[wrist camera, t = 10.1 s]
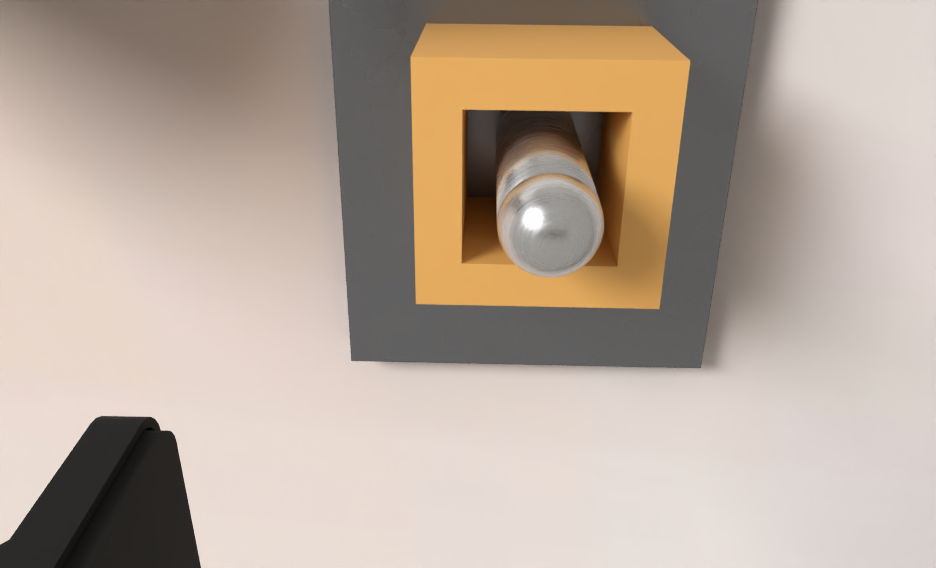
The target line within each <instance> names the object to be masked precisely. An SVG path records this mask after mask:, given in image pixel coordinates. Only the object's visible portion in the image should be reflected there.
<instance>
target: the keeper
mask: <svg viewBox="0 0 936 568" xmlns="http://www.w3.org/2000/svg"><path fill="white" fill-rule="evenodd" d="M757 3H758V0H329V14H330V30H331V45H332V61H333V77H334V93H335V109H336V124H337V140H338V156H339V172H340V187H341V203H342V219H343V235H344V251H345V266H346V282H347V298H348V314H349V330H350V345H351V361H385V362H432V363H479V364H526V365H573V366H620V367H668V368H701V363H702V356H703V350H704V343H705V337H706V331H707V324H708V318H709V311H710V305H711V298H712V292H713V286H714V279H715V273H716V266H717V260H718V253H719V247H720V241H721V234H722V228H723V221H724V215H725V208H726V202H727V196H728V189H729V183H730V176H731V170H732V163H733V157H734V151H735V144H736V138H737V131H738V125H739V118H740V112H741V106H742V99H743V93H744V86H745V80H746V73H747V67H748V61H749V54H750V48H751V41H752V35H753V28H754V22H755V16H756V9H757ZM426 23H431V24H507V25H584V26H652V27H653V28H655V29H656V30H657V31H658V32H659V33H660V34H661V35H662V36H663V37H665V38H666V39H667V40H668V41H669V42H670V43H671V44H672V45H673V46H674V47H676V48H677V49H678V50H679V51H680V52H681V53H682V54H683V55H684V56H686V57H687V58H688V59H689V60H690V68H689V76H688V84H687V92H686V100H685V108H684V116H683V124H682V132H681V140H680V148H679V156H678V164H677V172H676V180H675V188H674V196H673V204H672V212H671V220H670V228H669V236H668V244H667V251H666V259H665V267H664V275H663V283H662V291H661V299H660V307H659V309H635V308H585V307H535V306H485V305H436V304H416V287H415V241H414V195H413V150H412V104H411V58H410V57H411V55H412V53H413V51H414V48H415V46H416V44H417V42H418V40H419V38H420V36H421V34H422V31H423V29H424V27H425V25H426ZM602 113H603V112H591V111H526V110H468V137H467V197H496V200H497V232H498V237H499V241H500V244H501V246H502V248H503V250H504V252H505V253H506V255H507V256H508V258H509V259H510V260H511V261H512V262H513V263H514V264H515V265H516V266H518V267H519V268H520V269H522V270H524V271H525V272H527V273H530V274H532V275H535V276H540V277H548V278H551V277H561V276H565V275H568V274H571V273H573V272H575V271H577V270H579V269H580V268H582V267H583V266H584V265H586V264H587V263H588V262H589V261H590V260H591V258H592V257H593V256H594V254H595V253H596V251H597V250H598V248H599V246H600V244H601V241H602V237H603V232H604V215H603V210H602V206H601V203H600V200H599V197H598V194H597V191H596V187H597V175H598V163H599V150H600V138H601V126H602Z"/></svg>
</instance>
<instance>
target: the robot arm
mask: <svg viewBox="0 0 936 568" xmlns="http://www.w3.org/2000/svg"><path fill="white" fill-rule="evenodd" d="M0 568H201V566H200V561H199V556H198V550H197V545H196V540H195V535H194V530H193V525H192V520H191V514H190V509H189V504H188V499H187V494H186V489H185V484H184V478H183V473H182V468H181V463H180V458H179V453H178V448H177V442H176V439H175V436H174V434H173V433H172V432H171V431H161V430H160V427H159V424H158V423H157V421H156V420H155V419H154V418H152V417H120V416H101V417H98V418H96V419H95V420H94V421H93V422H92V423H91V424H90V425H89V427H88V428H87V430H86V431H85V432H84V434H83V435H82V437H81V438H80V440H79V441H78V442H77V444H76V445H75V447H74V448H73V450H72V451H71V452H70V454H69V455H68V457H67V458H66V460H65V461H64V463H63V464H62V465H61V467H60V468H59V470H58V471H57V473H56V474H55V475H54V477H53V478H52V480H51V481H50V483H49V484H48V485H47V487H46V488H45V490H44V491H43V493H42V494H41V495H40V497H39V498H38V500H37V501H36V503H35V504H34V505H33V507H32V508H31V510H30V511H29V513H28V514H27V515H26V517H25V518H24V520H23V521H22V523H21V524H20V525H19V527H18V528H17V530H16V531H15V533H14V534H13V535H12V537H11V538H10V540H8V541H6V542H4V543H3V544H1V545H0Z"/></svg>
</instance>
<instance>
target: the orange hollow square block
mask: <svg viewBox="0 0 936 568" xmlns="http://www.w3.org/2000/svg"><path fill="white" fill-rule="evenodd" d="M410 58H411V104H412V150H413V195H414V241H415V287H416V304H436V305H485V306H535V307H585V308H635V309H659V307H660V299H661V291H662V283H663V275H664V267H665V259H666V251H667V244H668V236H669V228H670V220H671V212H672V204H673V196H674V188H675V180H676V172H677V164H678V156H679V148H680V140H681V132H682V124H683V116H684V108H685V100H686V92H687V84H688V76H689V68H690V60H689V59H688V58H687V57H686V56H684V55H683V54H682V53H681V52H680V51H679V50H678V49H677V48H676V47H674V46H673V45H672V44H671V43H670V42H669V41H668V40H667V39H666V38H665V37H663V36H662V35H661V34H660V33H659V32H658V31H657V30H656V29H655V28H653V27H652V26H584V25H507V24H431V23H426V25H425V27H424V29H423V31H422V34H421V36H420V38H419V40H418V42H417V44H416V46H415V48H414V51H413V53H412V55H411V57H410ZM468 110H526V111H591V112H603V113H602V126H601V138H600V150H599V163H598V175H597V187H596V191H597V194H598V197H599V200H600V203H601V206H602V210H603V215H604V232H603V237H602V241H601V244H600V246H599V248H598V250H597V251H596V253H595V254H594V256H593V257H592V258H591V260H590V261H589V262H588V263H587V264H586V265H584V266H583V267H582V268H580V269H579V270H577V271H575V272H573V273H571V274H568V275H565V276H561V277H551V278H548V277H540V276H535V275H532V274H530V273H527V272H525V271H524V270H522V269H520V268H519V267H518V266H516V265H515V264H514V263H513V262H512V261H511V260H510V259H509V258H508V256H507V255H506V253H505V252H504V250H503V248H502V246H501V244H500V241H499V237H498V232H497V200H496V197H467V137H468Z"/></svg>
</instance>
